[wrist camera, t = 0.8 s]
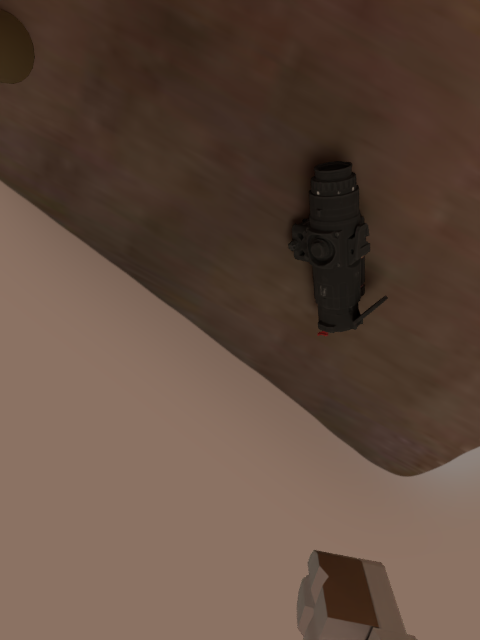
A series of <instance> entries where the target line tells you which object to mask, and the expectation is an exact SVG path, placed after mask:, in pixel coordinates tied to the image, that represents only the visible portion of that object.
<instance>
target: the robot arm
mask: <svg viewBox="0 0 480 640" xmlns="http://www.w3.org/2000/svg"><path fill="white" fill-rule="evenodd" d="M308 571H309V575H307V576H306V577H304V578H303V579H302V582H301V585H300V589H299V593H298V601H297V626H298V629H299V631H300V632H301V634H302V635H303V637H304V638H303V640H417V639H416V638H415V636H412V635H408V634H407V633H406V630H405V627H404V624H403V621H402V618H401V615H400V612H399V609H398V606H397V603H396V600H395V597H394V594H393V591H392V588H391V585H390V582H389V579H388V576H387V573H386V570H385V567H384V565H383V564H382V563H381V562H376V561H370V560H365V559H360V558H359V559H357V558H353V557H348V556H343V555H337V554H332V553H327V552H322V551H316V550H314V551H313V552H312V553H311V555H310V558H309V561H308Z"/></svg>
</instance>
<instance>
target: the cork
mask: <svg viewBox="0 0 480 640" xmlns="http://www.w3.org/2000/svg"><path fill="white" fill-rule="evenodd" d="M34 57H35V56H34V48H33V43H32V41H31V38H30V36H29V33H28V32H27V30H26V29H25V27H24V26H23V24H22V23H21V22H20V21H19V20H18V19H17V18H15V17H14V16H13V15H12V14H10V13H8V12H6V11H4V10H0V82H1V83H9V84H14V83H17V82H21V81H22V80H24V79H25V78H26V77H27V76H28V75H29V73H30V72H31V70H32V68H33V63H34Z"/></svg>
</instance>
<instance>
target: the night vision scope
mask: <svg viewBox="0 0 480 640" xmlns="http://www.w3.org/2000/svg"><path fill="white" fill-rule="evenodd" d="M351 167H352V163H351V162H342V161H336V162H328V163H323V164H319V165H317V166H315V167H314V171H315V176H313V177H312V178H311V190H310V191H309V198H310V215H309V219H303V223H301V224H299V225H296V223H295V224H294V225H293V227H292V238H293V241H291V243H289V244H288V246H289V249H290V250H291V251H293V250H294V257H295V259H297V260H302V261H307V262H309V263H310V265H312V266H313V280H314V295H315V299H316V303H317V304H318V316H319V322H318V328H319V329H320V330H322V332H319V333H318V335H324V336H328V332H330V333H334V332H343V331H347V330H350V329H354V330H355V329H357V327H358V326H359V325H360V324H363V318H364V317H366V316H367V315H368V314H370V313H371V312H372V311H373V310H375V309H376V308H377V307H378V306H379V305H381V304H382V303H383V302H384V301H385V300H386V299H387V298H388V297H387V296H384V297H383V298H382V299H380V300H379V301H378V302H376V303H375V304H374V305H373V306H371V307H370V308H369V309H368V310H366V311H365V312H364V313H363V314H361V315H360V312H359V309H358V302H359V301H360V298H361V296H363V295H364V293H365V285H364V284H363V283H364V282H365V256H364V255H365V254H367V253H368V252H369V251H370V243H368V242H366V236H369V229H368V225H367V223H364V218H363V216H360V215H361V213H360V210H359V187H358V185H356V174H355V173H353V172H352V171H351ZM318 335H317V336H318Z"/></svg>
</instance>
